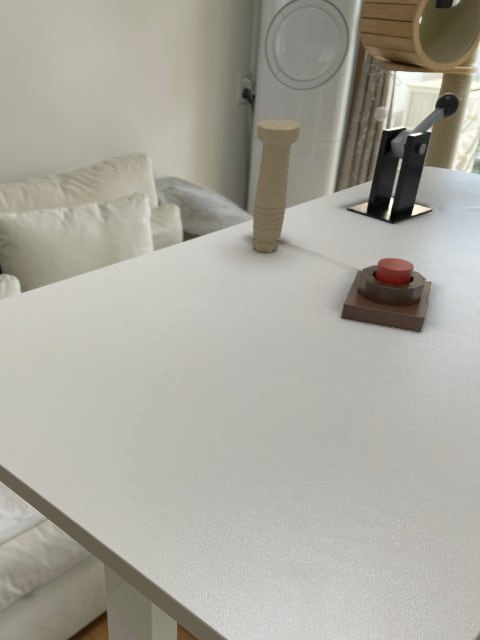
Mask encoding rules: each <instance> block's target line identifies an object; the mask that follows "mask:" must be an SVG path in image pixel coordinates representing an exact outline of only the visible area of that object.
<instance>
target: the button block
mask: <svg viewBox="0 0 480 640" xmlns="http://www.w3.org/2000/svg"><path fill="white" fill-rule="evenodd" d="M377 265H378V264H377ZM377 265H376V264H375V265H371V266H367V267H365V268H364V267H363V268H362V270H357V273H356V275H355V278H354V279H353V282H352V284H351V287H350V288H349V291H348V293H347V295H346V298H345V300H344V302H343V305H342V310H341V316H340V318H341V319H343V320H349V321H355V322H360V323H365V324H370V325H377V326H382V327H386V326H387V327H388V328H392V327H394V328H393V329H397V328H399V329H398V330H403V329H404V331H408V330H410V331H409V332H414V331H415V332H414V333H419V332H421V333H422V330H423V327H424V323H425V319H426V313H427V309H428V303H429V299H430V298H429V297H430V292H431V287H432V281H428V280H427V278H426V277H425V276H423V275H422V274H421V273H420V272H419V271H415V270H413V272H412V276H411V280H410V283H408V284H397V285H396V284H390V283H384V282H382V281H379V280H377V279H376V278H375V274H376V269H377ZM387 327H386V328H387Z"/></svg>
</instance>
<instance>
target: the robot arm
mask: <svg viewBox="0 0 480 640" xmlns="http://www.w3.org/2000/svg"><path fill="white" fill-rule="evenodd" d="M453 4H454V0H435V6H434V7H435V9H450V8H452V7H453Z"/></svg>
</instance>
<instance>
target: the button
mask: <svg viewBox="0 0 480 640" xmlns="http://www.w3.org/2000/svg"><path fill="white" fill-rule="evenodd" d="M414 266H415V265H414V264H413V263H412V262H410V261H408V260H405V259H402V258H398V257H397V258H396V257H385V258H381V259H379V260H378V262H377V269H376V274H375V278H376V279H377V280H379V281H382V282H384V283H390V284H396V285H397V284H408V283H410V280H411V276H412V272H413V271H414V268H415V267H414Z"/></svg>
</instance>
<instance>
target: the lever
mask: <svg viewBox="0 0 480 640" xmlns="http://www.w3.org/2000/svg"><path fill="white" fill-rule="evenodd" d="M434 105H435V106H434V110H433V111H432V112H431V113H430V114H428V115H427V116H426V117H425V118H424V119H423V120H422V121H421V122H420V123H419V124H418V125H416V127H414V129H412V130H411V131H409V130H406V131H404V130H403V131H402V132H401V133H400V134H399V135H398V136H396V137H395V138H394V139H393V140H392V141H391V153H392V157H395V158H400V159H399V160H402V158H403V154H404V149H405V145H406V140H407V136H408V135H411V134H415V133H420V132H425V131H427V132H428V131H429V130H430V129H431V128H432V127H433V126H434V125H435V124H436V123H438V121H440V120H441V119H442V118H443V119H447V118H451V117H453V116H454V115H455V114H456V113H457V112H458V110H459V108H460V99H459V97H458V96H457V95H456V94H455V93H453V92H446V93H443V94H442V95H440V96H439V97H438V98H437V99H436V101H435V104H434Z"/></svg>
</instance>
